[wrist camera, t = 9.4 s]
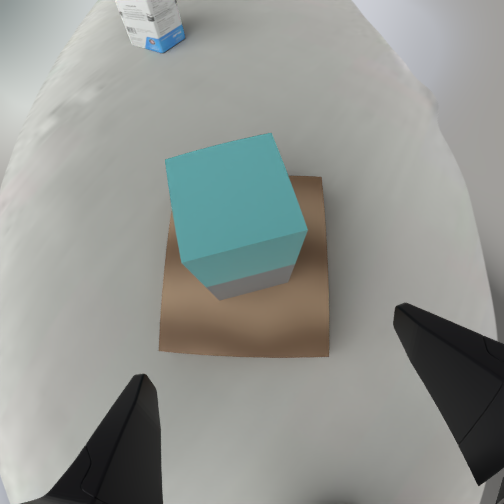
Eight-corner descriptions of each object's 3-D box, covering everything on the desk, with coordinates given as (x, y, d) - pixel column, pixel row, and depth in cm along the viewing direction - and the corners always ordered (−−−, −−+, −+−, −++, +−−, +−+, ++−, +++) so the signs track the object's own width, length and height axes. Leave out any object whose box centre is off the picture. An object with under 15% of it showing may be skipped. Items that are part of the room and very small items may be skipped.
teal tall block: (288, 282, 21) (307, 229, 11) (219, 300, 21) (181, 262, 11) (268, 219, 22) (271, 132, 13) (204, 235, 22) (164, 159, 13)
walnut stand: (322, 355, 22) (329, 356, 19) (169, 350, 22) (158, 350, 20) (316, 191, 26) (321, 176, 23) (183, 191, 26) (176, 177, 24)
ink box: (187, 38, 35) (169, -42, 21) (162, 54, 34) (137, -29, 20) (153, 30, 37) (132, -39, 22) (130, 45, 35) (104, -25, 21)
